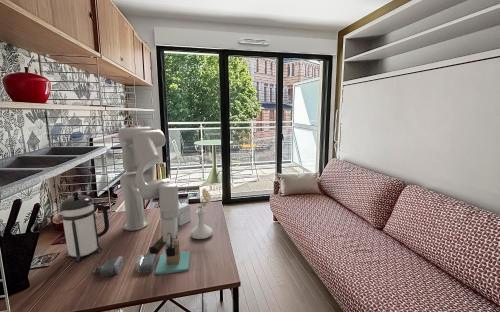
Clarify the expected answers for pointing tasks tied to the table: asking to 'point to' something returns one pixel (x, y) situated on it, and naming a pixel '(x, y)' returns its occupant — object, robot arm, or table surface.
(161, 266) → the mat
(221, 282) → the table surface
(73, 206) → the coffee press
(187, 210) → the small box
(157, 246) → the brown wooden branch
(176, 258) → the wooden block
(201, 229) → the flower in vase
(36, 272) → the table surface
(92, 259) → the table surface
